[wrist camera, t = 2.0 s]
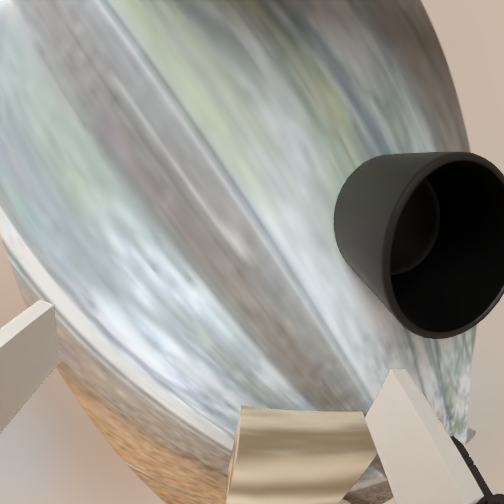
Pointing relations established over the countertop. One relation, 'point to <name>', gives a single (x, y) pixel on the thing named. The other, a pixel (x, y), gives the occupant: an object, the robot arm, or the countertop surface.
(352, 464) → the riser block
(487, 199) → the black cup
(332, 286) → the countertop surface
